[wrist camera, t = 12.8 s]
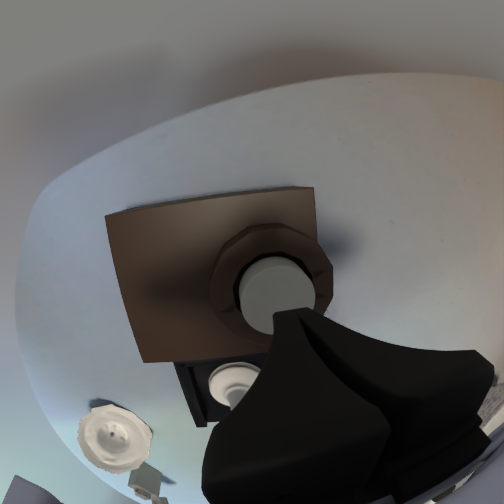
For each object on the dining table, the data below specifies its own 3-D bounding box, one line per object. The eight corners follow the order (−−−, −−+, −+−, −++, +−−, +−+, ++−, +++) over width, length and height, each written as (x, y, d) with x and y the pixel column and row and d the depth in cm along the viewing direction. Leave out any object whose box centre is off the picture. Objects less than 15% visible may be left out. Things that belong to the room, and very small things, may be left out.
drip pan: (294, 405, 24) (299, 421, 22) (195, 417, 23) (194, 433, 21) (291, 322, 21) (298, 337, 19) (168, 337, 21) (163, 353, 18)
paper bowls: (503, 378, 30) (525, 397, 23) (457, 435, 33) (474, 457, 25) (484, 367, 28) (512, 392, 20) (426, 437, 30) (446, 466, 22)
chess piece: (276, 370, 21) (302, 467, 12) (251, 407, 22) (264, 497, 13) (221, 353, 20) (222, 457, 11) (200, 393, 21) (194, 488, 12)
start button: (307, 313, 15) (316, 328, 13) (243, 323, 15) (245, 340, 13) (304, 251, 14) (314, 260, 12) (234, 260, 14) (236, 271, 12)
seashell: (116, 398, 26) (61, 411, 19) (137, 397, 24) (74, 413, 17) (140, 455, 24) (89, 475, 17) (165, 460, 22) (108, 486, 15)
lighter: (132, 461, 25) (122, 507, 17) (140, 459, 25) (131, 507, 17) (169, 483, 27) (165, 525, 19) (177, 481, 27) (174, 525, 19)
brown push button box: (306, 314, 21) (331, 356, 15) (155, 332, 20) (137, 379, 15) (299, 186, 19) (329, 187, 13) (128, 208, 18) (90, 220, 12)
